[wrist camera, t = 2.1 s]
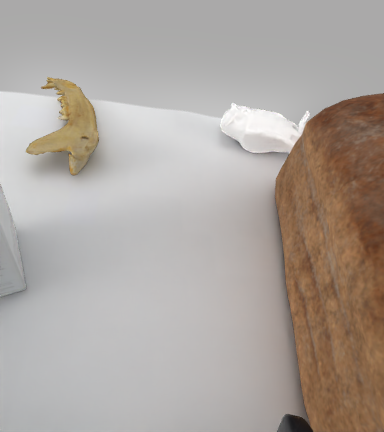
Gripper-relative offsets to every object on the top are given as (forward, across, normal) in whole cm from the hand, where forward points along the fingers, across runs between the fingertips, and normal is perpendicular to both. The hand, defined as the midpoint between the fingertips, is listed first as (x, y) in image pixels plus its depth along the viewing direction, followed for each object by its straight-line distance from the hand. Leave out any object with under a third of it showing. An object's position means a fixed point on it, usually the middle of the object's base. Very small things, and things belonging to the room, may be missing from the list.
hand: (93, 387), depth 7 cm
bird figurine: (+32, -13, -7) cm, 35 cm away
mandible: (+32, +11, -3) cm, 34 cm away
